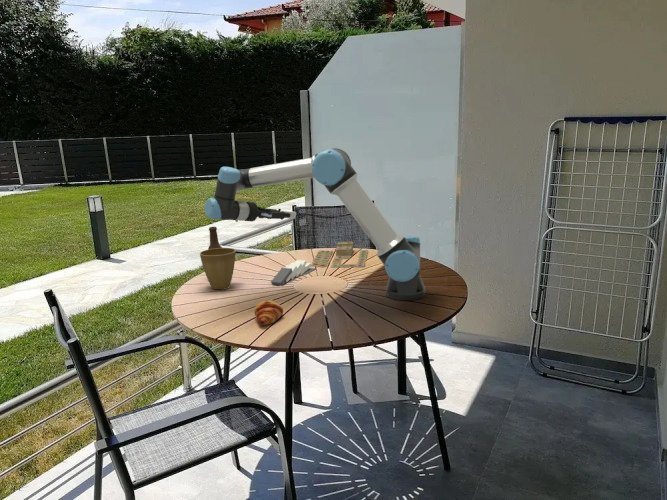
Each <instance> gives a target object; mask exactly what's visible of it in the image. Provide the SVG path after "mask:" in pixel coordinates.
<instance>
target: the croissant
mask: <svg viewBox="0 0 667 500" xmlns="http://www.w3.org/2000/svg"><path fill="white" fill-rule="evenodd" d="M253 312H254V316H255V319H256V321H257V323H258V324H259V325H261V326H266V325H270V324H274V323H275V322H277V320H278V319H280V317H281V316H282V315H283V313H284V307H282V306H281V304H279V303H278V302H277V301H275V300H270V299H266V300H263V301H260V302H259V303H257V304H256V305H255V308H254V311H253Z"/></svg>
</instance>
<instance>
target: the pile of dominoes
mask: <svg viewBox="0 0 667 500" xmlns="http://www.w3.org/2000/svg"><path fill="white" fill-rule="evenodd" d="M332 252H333V250H319V251H317V253H316V255H315V257H314V258H313V260H312V262H311V267H313V268H314V267H316V268H326V267H328V264H329V263H330V260H331V258H332V257H331V256H332V254H333V253H334V252H333V253H332ZM353 252H354V242H353V241H338V242H337V246H336V248H335V256H334V258H333V260H332V261H331V262H332V263H331V265H330V268H331V269H336V268H341V269H342V268H343V269H345V268H346V269H347V268H349V267H350V268H365V267H364V266H366V263H367V260H366V259H368V255H367V254H369V250H368V249H361V250H360V251H359V256H358V258H359V259H358V260H357V262H356V264H355V263H351V264H349V263H348V264H341V263H342V261H341V260H350V259H351V256H353V255H352V254H353ZM365 262H366V263H365ZM350 268H349V269H350Z"/></svg>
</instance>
